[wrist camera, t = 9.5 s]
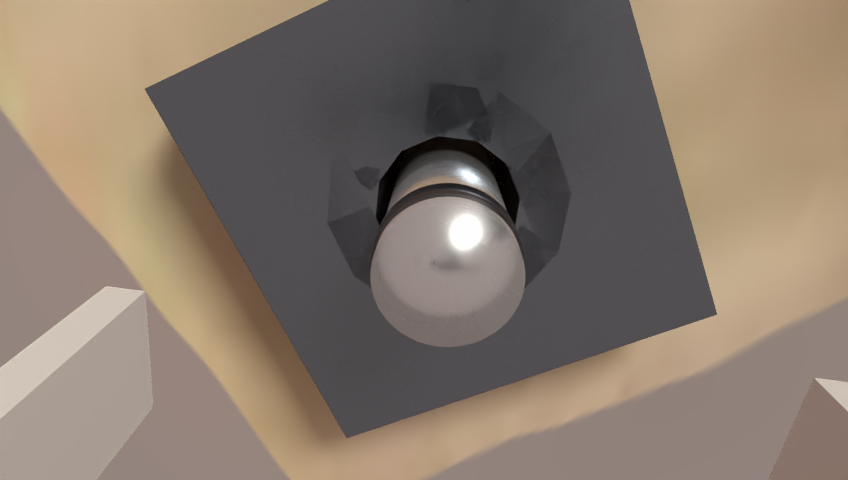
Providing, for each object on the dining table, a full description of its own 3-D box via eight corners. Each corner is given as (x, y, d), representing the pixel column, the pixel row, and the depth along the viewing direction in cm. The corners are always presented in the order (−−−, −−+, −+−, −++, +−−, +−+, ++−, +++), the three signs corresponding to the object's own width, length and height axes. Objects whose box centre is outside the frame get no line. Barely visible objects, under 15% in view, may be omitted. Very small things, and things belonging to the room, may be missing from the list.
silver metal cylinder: (402, 123, 27) (374, 191, 16) (501, 136, 27) (543, 213, 16) (392, 217, 29) (360, 339, 18) (485, 229, 29) (513, 358, 18)
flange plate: (563, -97, 24) (593, -127, 19) (673, 268, 29) (717, 314, 25) (197, 77, 27) (144, 88, 22) (360, 378, 32) (346, 437, 28)
